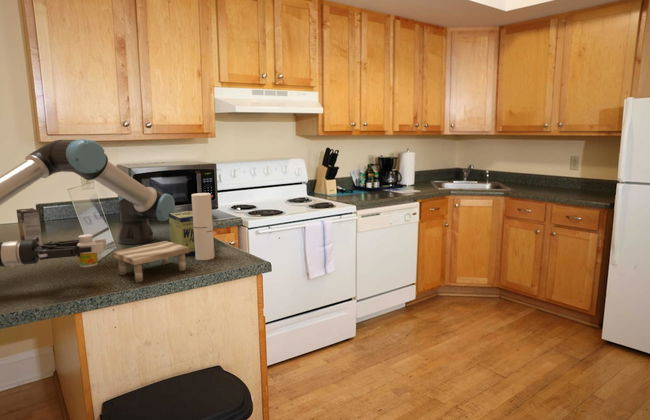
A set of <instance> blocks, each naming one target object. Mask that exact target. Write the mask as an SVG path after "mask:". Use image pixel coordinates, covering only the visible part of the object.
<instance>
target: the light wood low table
mask: <svg viewBox="0 0 650 420" xmlns="http://www.w3.org/2000/svg"><path fill="white" fill-rule="evenodd" d="M185 253H189V247H185V246H182V245H179V244H175V243H172V242H171V241H168V240H164V241H158V242H153V243H148V244H144V245H139V246H135V247H129V248H124V249H119V250H115V251H112V257H113V258H115V259H117V265H118V273H119V275H121V276H122V275H124V276H125V275H126V274H127V273H128V271H127V264H130V265H133V271H134V281H135V282H136V283H140V282H143V281H144V274H143V264H146V263H151V262H154V261H158V260H161V264H162V265H167V264H169V263H170V262H169V258H172V257H176V256H177V260H178V271H180V272H181V271H186V270H187V264H186V256H185Z"/></svg>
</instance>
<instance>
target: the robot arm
mask: <svg viewBox="0 0 650 420" xmlns="http://www.w3.org/2000/svg"><path fill="white" fill-rule="evenodd" d="M61 172H64V173H74V174H76V175H77V176H80V177H81V178H83V179H84V180H86V181H96V182H97V183H99V184H101V185H102V186H104V187H105V188H107V189H108V190H110V191H112V192H114V193H115V194H116V195H118V208H119V209H118V210H119V218H120V227H119V231H118V237H117V241H118V244H121V245H137V244H138V245H139V244H145V243H149V242H153V241H154V239H155V235H154V231H153V230H152V226H151V225H150V221H151V220H152V221H159V222H160V221H169V213H174V212H175V208H176V205H175V199H174V197H173V196H172V195H171V194H168V193H162V192H160V191H158V190H157V189H156V188H155V187H152V186H147V187H146V186H145V185H143V184H142V183H141V182H139V181H138V180H136V179H134V178H133V177H132V176H130V175H128V173H126V172H124V171H123V170H122V169H120V168H118V167H117V166H116V165H114V164H113V163H112V162H110V161H109V157H108V155H107V154H106V153H105V149H104V148H103V147H102V145H101V144H99V143H98V142H97V141H94V140H92V139H91V140H90V139H85V138H78V139H57V140H53V141H50V142H48V143H46V144H45V145H42V146H41V147H39V148H38V149H36V150H34V151H32V152H31V153H29V154H28V155H26V157H25V160H24V161H22V162H21V163H19V164H17V165H16V166H14V167H13V168H11V169H9V171H6V172H5V173H4V174H1V175H0V206H1V205H3V204H5V203H6V202H8V201H9V200H10V199H12V198H13V197H15V196H17V194H19V193H21V192H22V191H24V190H25V189H27V188H28V187H30V186H31V185H32V184H34V183H36V182H37V181H39V180H41V179H47V178H48V177H50V176H51V175H54V174H57V173H61ZM92 241H95V243H96V244H87V245H80V248H79V246H77V244H78V243H79V242H80V241H79V239H72V240H71V239H70V240H61V241H60V240H59V241H53V240H51V241H49V242H44V243H43V245H38V242H37V241H36V240H34V239H32V240H22V241H21V240H10V241H9V240H8V241H0V267H1V268H2V267H10V268H15V267H16V266H21V265H24V266H25V265H34V264H37V263H38V262H39V261H43V260H44V261H45V260H49V259H61V258H71V257H77V258H78V257H80V253H81V254H86V253H97V254H98V253H104V252H105V248H107V247H108V246H107V245H108V244H107V238H99V239H97V238H96V239H93V240H92Z"/></svg>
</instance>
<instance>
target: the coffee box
mask: <svg viewBox="0 0 650 420" xmlns="http://www.w3.org/2000/svg"><path fill="white" fill-rule="evenodd" d="M16 216H17V225H18V230H19V236H20V237H19V238H20V241H22V240H32V239H34V240H36V241H37V242H38V245H44V243H43V236H42V229H41V228H42V227H41V220H40V212H39V209H38V210H37V209H35V208H33V207H31V208H20V209H19V208H18V209H16Z"/></svg>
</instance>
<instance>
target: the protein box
mask: <svg viewBox="0 0 650 420" xmlns="http://www.w3.org/2000/svg"><path fill="white" fill-rule="evenodd" d="M168 221H169V222H168V223H169V236H170V237H169V238H170V242H172V243H175V244H179V245H182V246H185V247H189V253H185V257H187V256H193V255H195V240H194V226H193V211H192V210H185V211H174V213H169V219H168Z"/></svg>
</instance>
